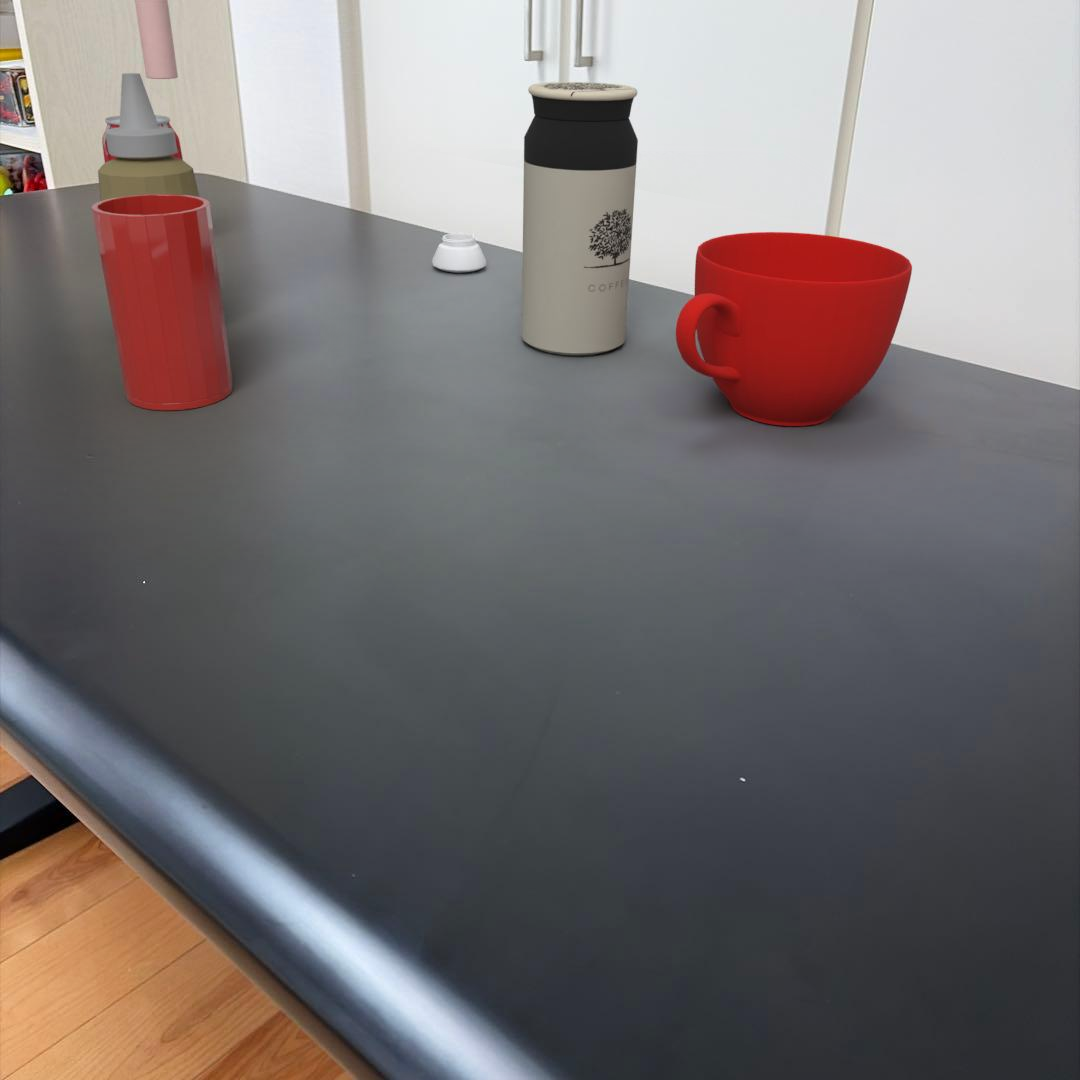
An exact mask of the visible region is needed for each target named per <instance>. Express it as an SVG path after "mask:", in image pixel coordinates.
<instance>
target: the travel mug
mask: <svg viewBox="0 0 1080 1080" xmlns="http://www.w3.org/2000/svg"><path fill="white" fill-rule="evenodd" d="M527 91H528V93H529V94H530V95H531V99H532V106H533V115H534V116H533V118H532V120H531V121H530V124H529V126H528V128H527V130H526V132H525V134H524V137H523V198H522V202H523V203H522V204H523V206H522V209H523V210H522V215H523V216H522V266H521V267H522V269H521V270H522V271H521V273H522V275H521V276H522V277H521V338H522V340H523V341H524V342H525V343H526V344H528V345H529V346H531V347H532V348H534V349H537V350H539V351H541V352H545V353H548V354H555V355H561V356H572V357H576V356H577V357H579V356H594V355H598V354H599V355H600V354H604V353H607V352H610V351H612V350H614V349H616V348H619V347H620V346H621V345H623V344H624V343H625V341H626V335H627V333H626V332H627V317H628V304H629V303H628V299H629V286H630V285H629V284H630V269H631V254H632V253H631V252H632V238H633V224H634V223H633V221H634V206H635V192H636V178H637V177H636V175H637V161H638V147H639V145H638V143H639V140H638V137H637V134H636V131H635V129H634V127H633V124H632V122H631V120H630V117H631V112H632V106H633V102H634V99H635V97H637V95H638V90H637V89H636V88H635V87H634V86H630V85H626V84H624V85H623V84H616V83H606V82H591V81H589V82H588V81H553V82H552V81H551V82H540V83H534V84H531V85H530V86H529V87H528V90H527Z"/></svg>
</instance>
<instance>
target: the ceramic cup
mask: <svg viewBox="0 0 1080 1080" xmlns="http://www.w3.org/2000/svg"><path fill="white" fill-rule="evenodd" d="M694 264H695V265H694V267H695V268H694V296H692V298H690V299H689V300H688V301H686V303H685V304H684V306H683V307H682V308H681V310H680V312H679V315H678V317H677V320H676V325H675V340H676V346H677V349H678V352H679V354H680V357H681V358H682V360H683V361H684V363H685V364H686V365H687V366H689V367H690V368H691V370H693V371H695V372H696V373H698V374H700V375H703V376H705V377H709V378H712V380H713V381H714V383H715V385H716V386H717V388H718V389H719V390H720V392H721V393H722V395H723V396H724V397H725V398H726V400H728V401H729V404H730V406H731V408H732V409H733V411H735V412H736V413H737V414H739V415H740V416H742V417H745V418H747V419H750V420H752V421H755V422H758V423H759V422H760V423H763V424H768V425H773V426H782V427H805V426H806V427H807V426H812V425H817V424H822V423H824V422H826V421H828V420H829V419H831V417H832V416H833V414H834V413H836V412H838V411H839V410H840V409H842V408H843V407H844V406H845V405H847V404H848V403H849V402H850V401H852V400H853V398H855V397H856V396H857V395H859V393H860V392H861V391H862V390H863V389H864V388H865V387H866V386H867V385H868V384H869V382H870V381H871V380H872V379H873V377H874V376H875V374H876V373H877V371H878V370H879V369H880V366H881V365H882V363H883V361H884V360H885V357H886V355H887V353H888V352H889V348H890V347H891V344H892V341H893V339H894V336H895V334H896V330H897V327H898V325H899V322H900V318H901V315H902V312H903V309H904V305H905V301H906V297H907V294H908V291H909V286H910V283H911V278H912V272H913V265H912V263H911V261H910V259H909V258H907V257H906V256H904V255H903V254H901V253H899V252H897V251H895V250H894V249H890V248H888V247H884V246H882V245H877V244H875V243H870V242H867V241H862V240H857V239H853V238H847V237H840V236H834V235H827V234H817V233H807V232H806V233H804V232H789V231H788V232H786V231H783V232H782V231H764V232H763V231H760V232H758V231H757V232H743V233H734V234H725V235H721V236H716V237H713V238H709V239H707V240H705V241H703V242H702V243H700V244H699V245H698V246H697V250H696V254H695V263H694ZM696 336H697V341H698V345H699V350H700V353H701V355H700V353H699V350H698V347H697V342H696Z"/></svg>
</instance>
